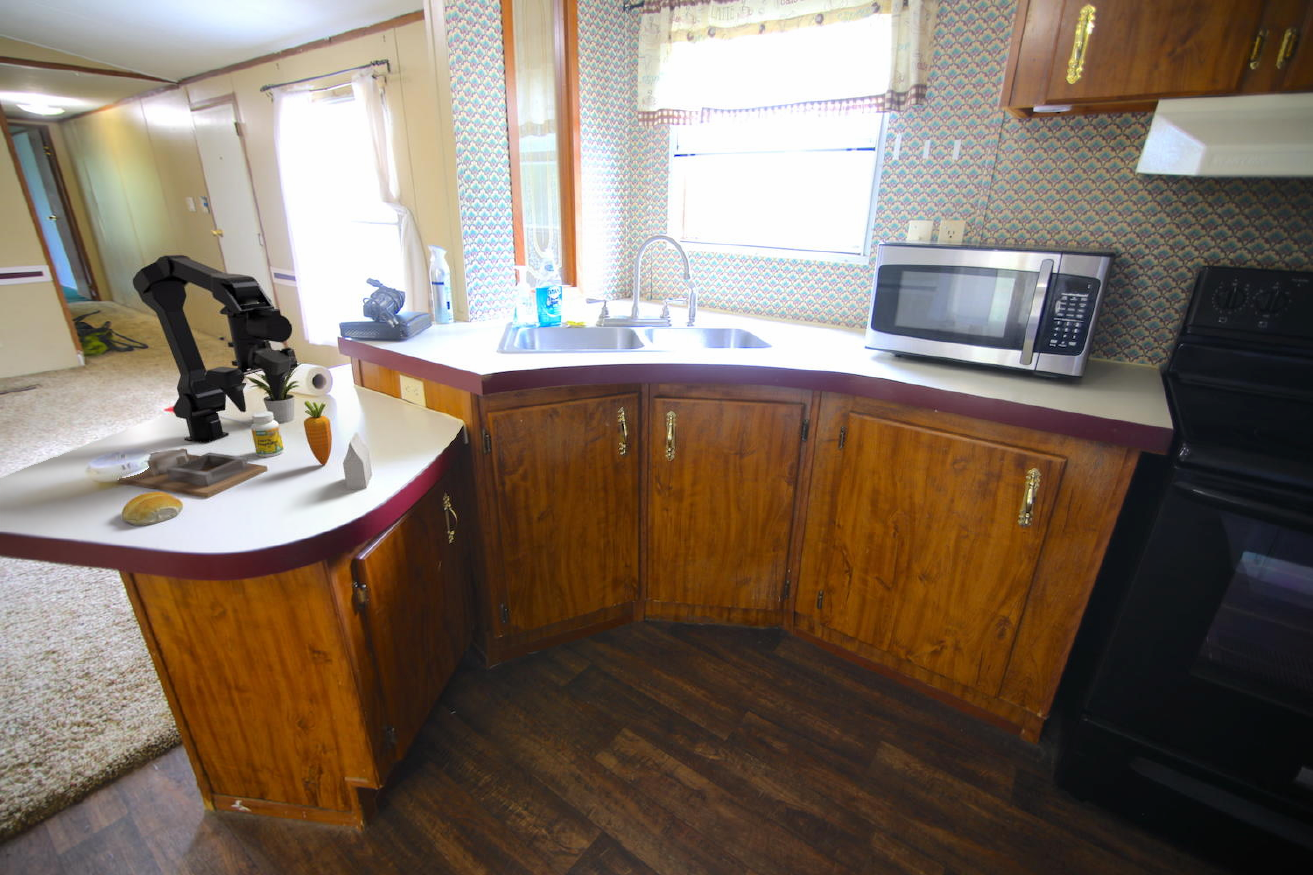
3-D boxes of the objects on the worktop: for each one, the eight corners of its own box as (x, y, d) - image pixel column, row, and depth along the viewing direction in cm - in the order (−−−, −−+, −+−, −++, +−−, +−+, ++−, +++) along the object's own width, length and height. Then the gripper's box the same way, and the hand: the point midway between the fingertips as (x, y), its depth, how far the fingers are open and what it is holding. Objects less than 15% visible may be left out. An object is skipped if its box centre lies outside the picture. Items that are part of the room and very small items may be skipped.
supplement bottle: (283, 447, 140) (276, 409, 137) (284, 455, 136) (277, 415, 133) (256, 451, 137) (248, 412, 134) (256, 459, 133) (248, 419, 130)
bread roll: (169, 500, 114) (164, 481, 112) (190, 514, 109) (185, 494, 108) (115, 516, 107) (109, 496, 106) (135, 531, 103) (129, 511, 101)
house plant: (302, 407, 168) (292, 350, 162) (327, 417, 160) (317, 359, 155) (246, 418, 157) (233, 358, 151) (270, 431, 149) (257, 368, 144)
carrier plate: (118, 482, 119) (112, 464, 118) (184, 457, 132) (180, 440, 131) (208, 497, 115) (203, 479, 114) (267, 470, 128) (264, 453, 126)
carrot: (341, 463, 133) (331, 399, 128) (323, 471, 129) (312, 405, 123) (324, 459, 135) (314, 396, 129) (305, 467, 130) (294, 402, 125)
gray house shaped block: (372, 475, 128) (366, 431, 125) (366, 488, 122) (360, 443, 119) (353, 476, 127) (346, 432, 124) (346, 489, 121) (340, 444, 118)
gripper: (241, 348, 117) (256, 423, 123) (312, 332, 134) (322, 398, 140) (195, 343, 119) (211, 416, 125) (270, 328, 136) (282, 393, 142)
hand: (260, 405), depth 133 cm, fingers open, 9 cm apart
